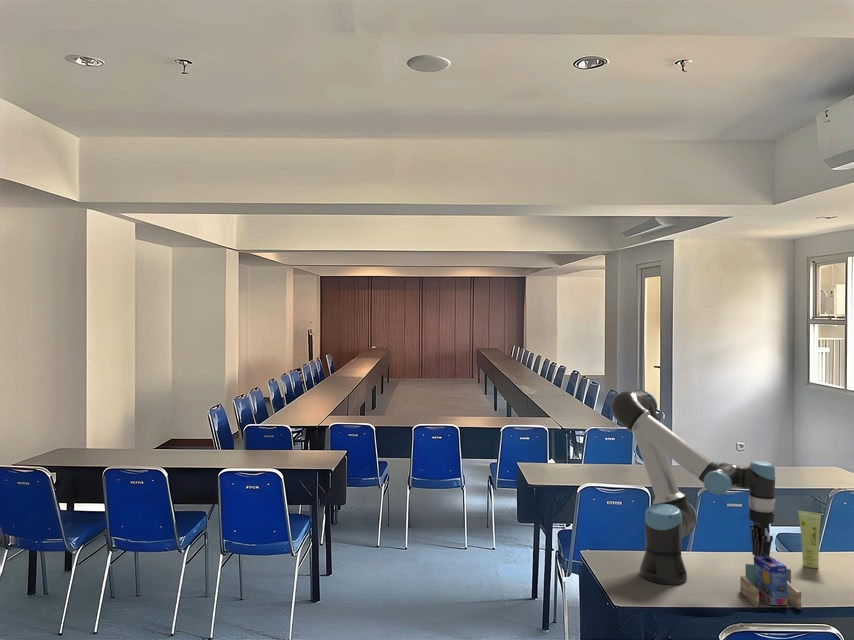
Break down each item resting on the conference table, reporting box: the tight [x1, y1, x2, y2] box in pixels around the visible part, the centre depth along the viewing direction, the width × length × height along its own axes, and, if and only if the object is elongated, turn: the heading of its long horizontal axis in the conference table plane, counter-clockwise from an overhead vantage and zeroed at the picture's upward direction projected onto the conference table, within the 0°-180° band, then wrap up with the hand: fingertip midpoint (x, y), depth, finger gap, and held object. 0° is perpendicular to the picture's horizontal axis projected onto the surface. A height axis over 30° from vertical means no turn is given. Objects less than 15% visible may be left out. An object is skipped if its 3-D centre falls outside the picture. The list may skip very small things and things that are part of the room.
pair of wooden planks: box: [739, 575, 802, 610], centre depth 206 cm, size 13×12×5 cm
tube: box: [797, 509, 822, 569], centre depth 238 cm, size 6×5×20 cm
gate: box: [745, 563, 792, 585], centre depth 215 cm, size 13×1×8 cm, turn 60°
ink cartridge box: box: [753, 552, 789, 606], centre depth 206 cm, size 10×6×14 cm, turn 4°
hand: (759, 579), depth 219 cm, fingers closed
